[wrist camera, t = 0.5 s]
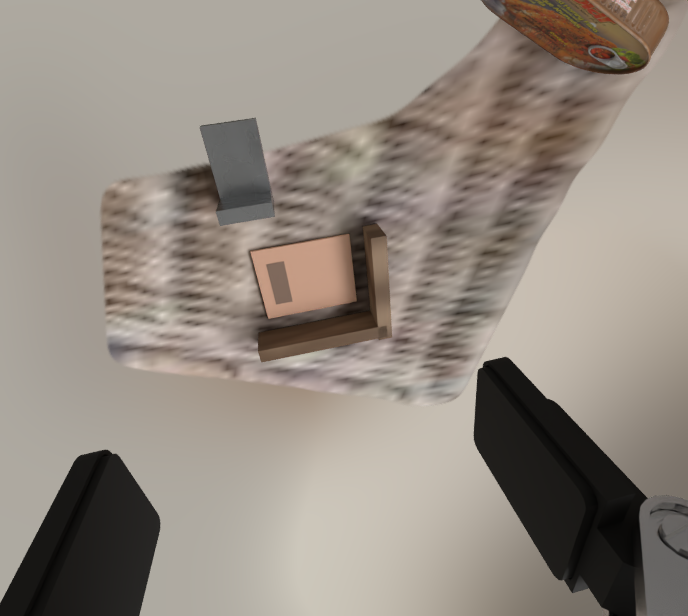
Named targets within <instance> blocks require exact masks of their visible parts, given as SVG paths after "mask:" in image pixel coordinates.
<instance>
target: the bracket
mask: <svg viewBox="0 0 688 616" xmlns="http://www.w3.org/2000/svg"><path fill="white" fill-rule="evenodd" d="M200 130H201V134H202V137H203V141H204V144H205V148H206V151H207V155H208V158H209V161H210V165H211V168H212V172H213V175H214V179H215V182H216V186H217V189H218V193H219V196H220V201H219V204H218V207H217V209H216V214H217V217H218V221H219V224H220V226H222V225H228V224H234V223H240V222H246V221H252V220H258V219H264V218H270V217H275V213H274V200H273V196H272V191H271V186H270V182H269V177H268V172H267V168H266V163H265V159H264V154H263V149H262V144H261V140H260V135H259V130H258V126H257V121H256V118H252V119H245V120H238V121H231V122H224V123H217V124H210V125H203V126H200Z"/></svg>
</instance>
